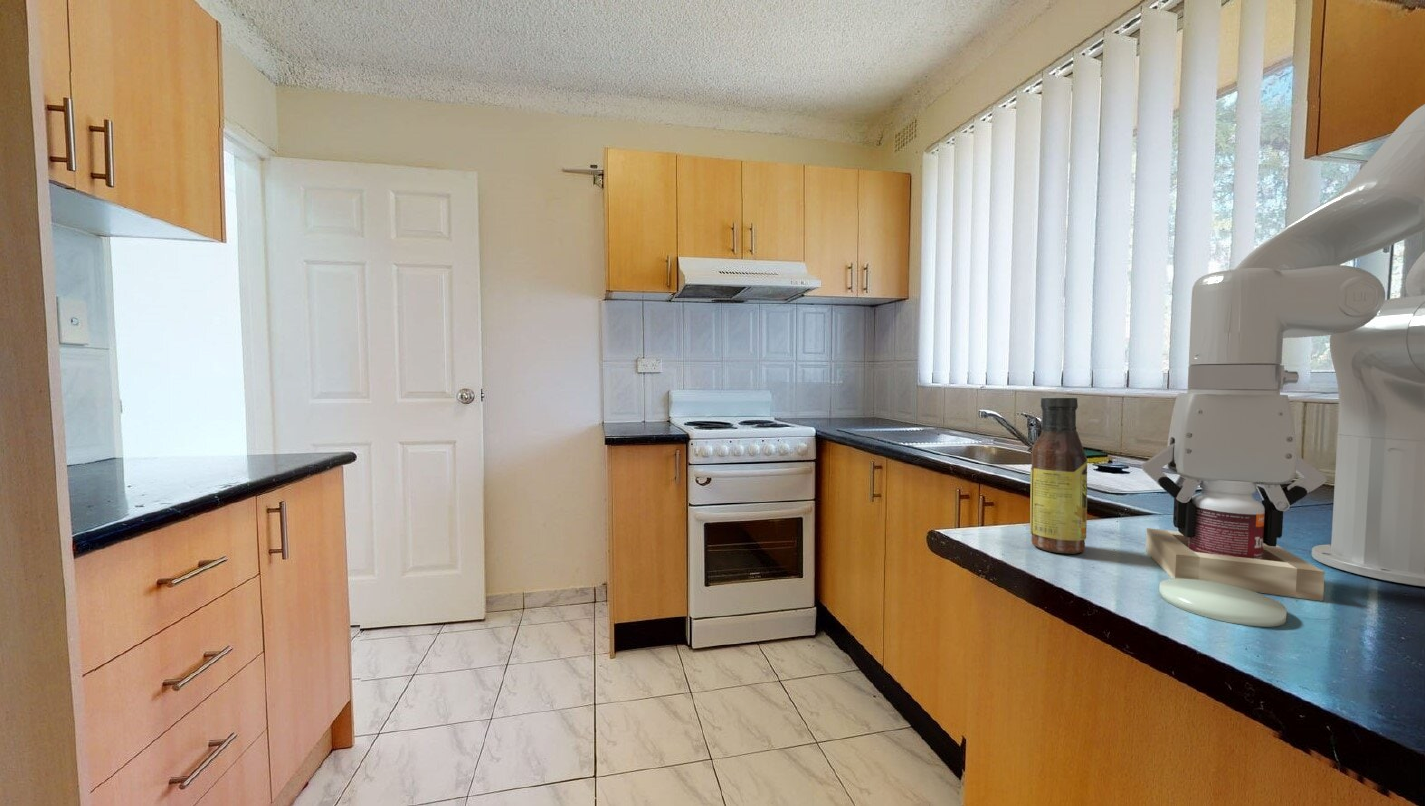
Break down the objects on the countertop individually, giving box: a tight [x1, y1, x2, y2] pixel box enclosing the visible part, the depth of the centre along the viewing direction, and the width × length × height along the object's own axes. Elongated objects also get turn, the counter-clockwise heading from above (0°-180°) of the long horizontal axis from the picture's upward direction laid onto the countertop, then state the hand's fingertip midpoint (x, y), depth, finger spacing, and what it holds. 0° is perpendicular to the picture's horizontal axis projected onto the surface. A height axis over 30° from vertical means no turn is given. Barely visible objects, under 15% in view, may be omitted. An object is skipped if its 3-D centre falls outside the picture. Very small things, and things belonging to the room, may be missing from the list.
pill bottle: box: [1188, 480, 1265, 560], centre depth 61 cm, size 6×6×11 cm
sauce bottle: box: [1029, 396, 1088, 555], centre depth 70 cm, size 6×6×20 cm
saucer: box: [1158, 578, 1287, 628], centre depth 53 cm, size 9×9×1 cm
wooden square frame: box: [1145, 528, 1325, 602], centre depth 61 cm, size 12×12×3 cm
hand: (1224, 537), depth 61 cm, fingers closed on pill bottle, 6 cm apart
